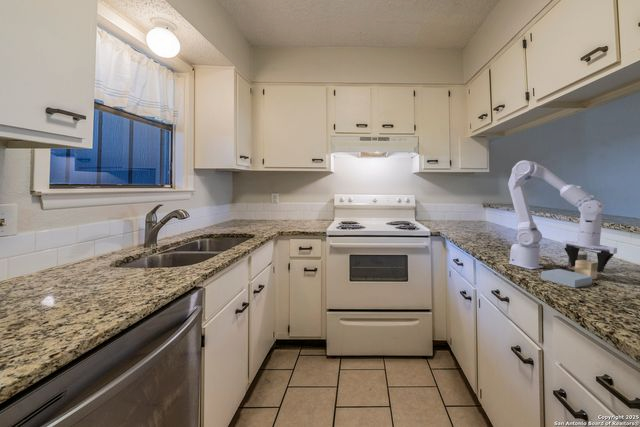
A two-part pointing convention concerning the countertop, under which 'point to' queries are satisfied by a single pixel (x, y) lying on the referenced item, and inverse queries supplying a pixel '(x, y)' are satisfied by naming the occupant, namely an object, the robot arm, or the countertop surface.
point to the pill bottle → (578, 258)
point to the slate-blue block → (566, 277)
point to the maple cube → (586, 268)
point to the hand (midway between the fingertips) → (586, 268)
